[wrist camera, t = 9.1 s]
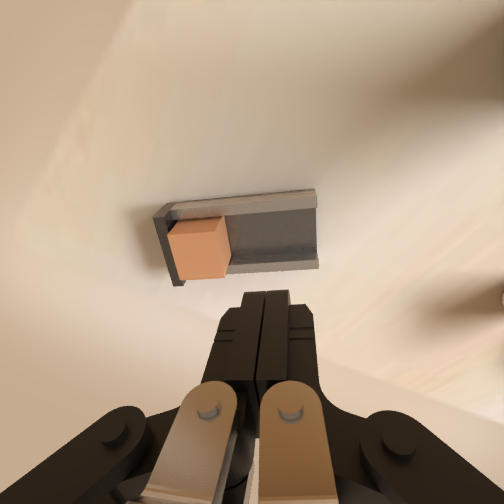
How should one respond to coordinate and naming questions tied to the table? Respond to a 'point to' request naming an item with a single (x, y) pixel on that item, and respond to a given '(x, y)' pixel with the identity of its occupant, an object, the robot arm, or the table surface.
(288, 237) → the chute
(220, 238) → the block
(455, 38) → the table surface
